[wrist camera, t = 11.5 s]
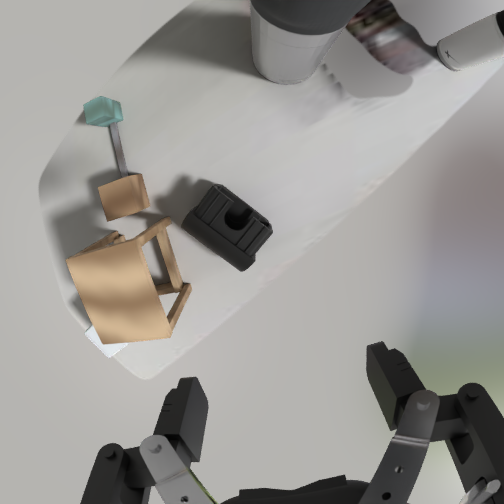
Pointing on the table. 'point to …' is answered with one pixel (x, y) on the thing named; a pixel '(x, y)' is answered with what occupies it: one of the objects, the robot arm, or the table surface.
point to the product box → (106, 348)
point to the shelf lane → (127, 287)
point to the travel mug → (474, 43)
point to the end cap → (228, 227)
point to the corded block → (128, 187)
